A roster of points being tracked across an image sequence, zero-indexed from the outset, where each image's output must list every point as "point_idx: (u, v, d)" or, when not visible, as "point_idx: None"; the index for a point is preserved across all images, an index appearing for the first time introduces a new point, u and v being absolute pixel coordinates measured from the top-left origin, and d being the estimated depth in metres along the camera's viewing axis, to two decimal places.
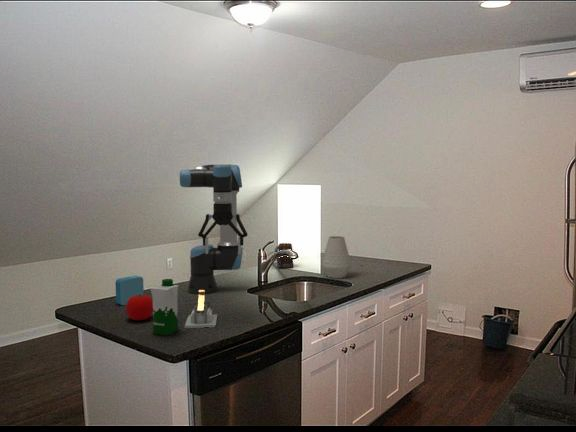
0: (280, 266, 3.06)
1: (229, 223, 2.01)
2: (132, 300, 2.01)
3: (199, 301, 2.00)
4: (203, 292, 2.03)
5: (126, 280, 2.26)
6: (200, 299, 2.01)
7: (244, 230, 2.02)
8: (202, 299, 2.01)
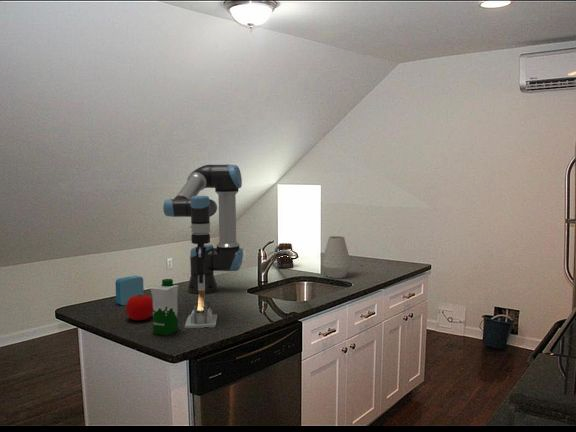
0: (280, 266, 3.06)
1: (196, 256, 2.00)
2: (132, 300, 2.01)
3: (199, 301, 2.00)
4: (203, 292, 2.03)
5: (126, 280, 2.26)
6: (200, 299, 2.01)
7: (197, 269, 1.98)
8: (202, 299, 2.01)
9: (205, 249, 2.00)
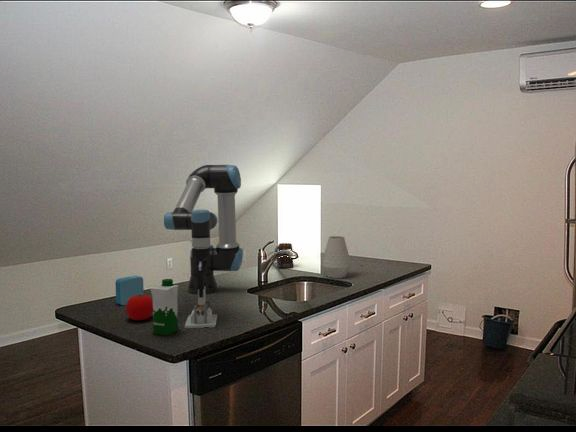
0: (280, 266, 3.06)
1: None
2: (132, 300, 2.01)
3: (199, 307, 2.01)
4: None
5: (126, 280, 2.26)
6: (201, 306, 2.02)
7: (197, 283, 1.97)
8: (202, 306, 2.03)
9: (205, 263, 2.01)
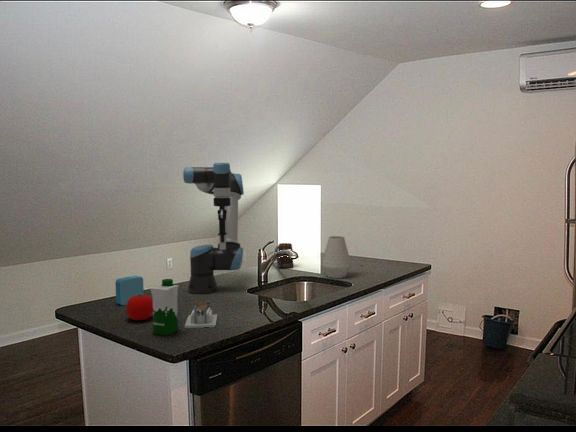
0: (280, 266, 3.06)
1: (218, 217, 2.19)
2: (132, 300, 2.01)
3: (199, 307, 2.01)
4: (204, 303, 2.06)
5: (126, 280, 2.26)
6: (201, 306, 2.02)
7: (219, 229, 2.17)
8: (202, 306, 2.03)
9: (226, 211, 2.19)
